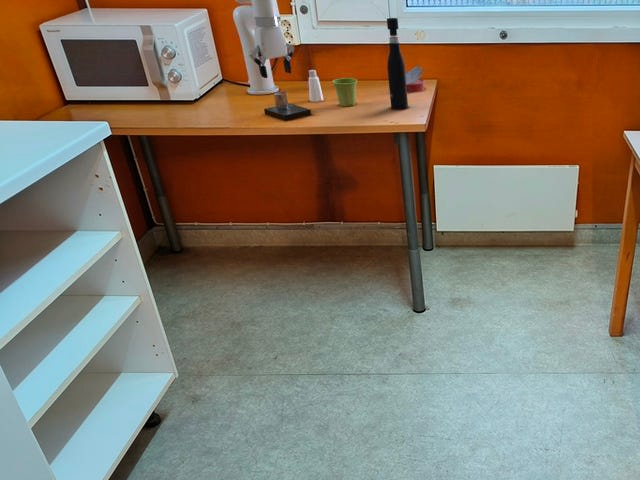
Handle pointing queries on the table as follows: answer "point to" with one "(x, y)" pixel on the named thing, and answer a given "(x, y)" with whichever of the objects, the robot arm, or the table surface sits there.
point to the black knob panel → (288, 112)
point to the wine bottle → (396, 69)
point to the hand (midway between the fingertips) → (276, 75)
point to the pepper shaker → (314, 87)
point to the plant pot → (346, 91)
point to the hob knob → (281, 100)
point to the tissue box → (414, 80)
